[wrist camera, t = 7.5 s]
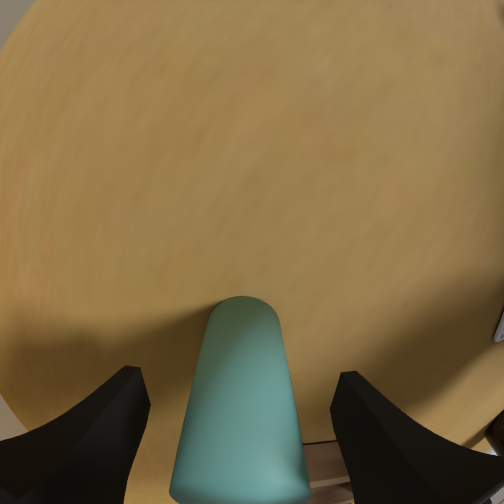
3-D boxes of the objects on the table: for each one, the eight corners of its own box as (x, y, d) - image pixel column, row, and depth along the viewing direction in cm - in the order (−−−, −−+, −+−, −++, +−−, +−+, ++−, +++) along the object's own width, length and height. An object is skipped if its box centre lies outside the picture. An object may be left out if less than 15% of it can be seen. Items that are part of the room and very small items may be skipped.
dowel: (282, 296, 13) (326, 473, 4) (277, 356, 14) (299, 515, 5) (205, 295, 13) (154, 469, 4) (209, 355, 14) (182, 512, 5)
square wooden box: (390, 430, 16) (404, 460, 13) (361, 473, 18) (369, 498, 15) (296, 445, 16) (301, 482, 13) (283, 484, 18) (286, 512, 15)
